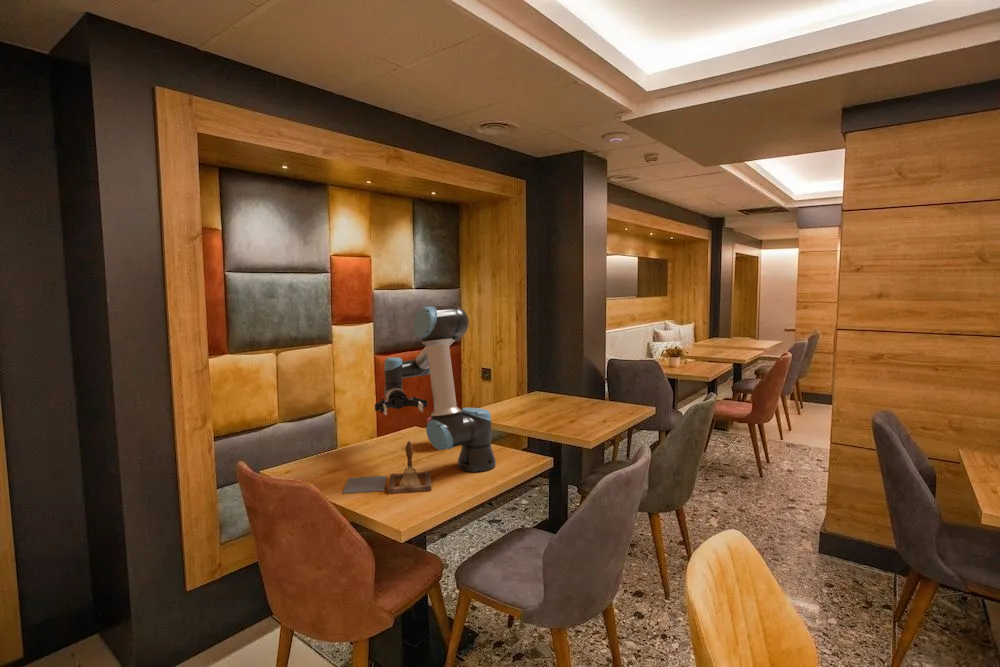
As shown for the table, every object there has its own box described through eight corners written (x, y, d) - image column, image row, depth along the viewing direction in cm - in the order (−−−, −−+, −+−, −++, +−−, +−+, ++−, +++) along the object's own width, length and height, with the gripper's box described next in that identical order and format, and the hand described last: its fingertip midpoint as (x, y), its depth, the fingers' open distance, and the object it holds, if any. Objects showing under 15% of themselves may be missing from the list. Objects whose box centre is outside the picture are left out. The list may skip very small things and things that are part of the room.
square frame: (430, 475, 194) (430, 471, 194) (431, 490, 180) (431, 486, 180) (390, 477, 192) (390, 473, 192) (387, 493, 177) (387, 489, 177)
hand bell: (425, 485, 184) (424, 442, 183) (403, 490, 180) (401, 446, 179) (416, 478, 192) (416, 436, 190) (395, 482, 187) (394, 440, 186)
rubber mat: (386, 476, 193) (386, 475, 193) (383, 491, 180) (383, 490, 180) (348, 479, 191) (348, 478, 191) (342, 493, 178) (342, 492, 178)
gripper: (426, 404, 217) (436, 416, 197) (366, 409, 209) (370, 422, 189) (426, 387, 217) (436, 397, 197) (365, 391, 209) (370, 402, 189)
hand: (404, 410), depth 193 cm, fingers open, 13 cm apart
